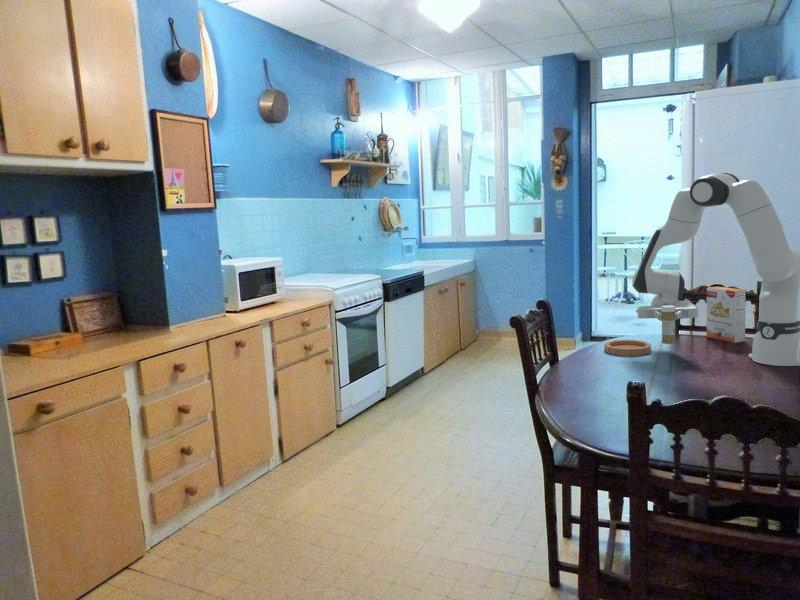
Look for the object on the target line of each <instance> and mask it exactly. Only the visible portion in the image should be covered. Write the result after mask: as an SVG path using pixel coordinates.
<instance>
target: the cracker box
mask: <svg viewBox="0 0 800 600" xmlns="http://www.w3.org/2000/svg"><path fill="white" fill-rule="evenodd" d="M746 292H747V291H746V289H740V288H731V287H724V286H711V287H706V338H708V339H709V338H710V339H713V340H718V341H722V342H727V343H731V344H740V343H744V342H746V312H747V311H746V308H747V306H746V305H747V304H746V297H747V296H746V295H747V294H746Z"/></svg>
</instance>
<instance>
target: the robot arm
mask: <svg viewBox="0 0 800 600" xmlns="http://www.w3.org/2000/svg"><path fill="white" fill-rule="evenodd" d="M724 204H725V205H727V206H729V207H730V208H731V210H732V211H733V213H734V215H735V218H736V219H737V221H738V224H739V226H740V228H741V230H742V233H743V235H744V237H745V239H746V241H747V245H748V248H749V252H750V254H751V257H752V260H753V262H754V265H755V269H756V272H757V274H758V275H759V277H760V278H762V279H761V287H760V292H759V296H758V301H759V303H758V304H759V305H758V320H757V322H756V330H757V332H756V333H755V334H754V335H753V338H752V348H751V349H752V350H751V352H750V353H748V358H749V359H752V361H753V362H756V363H758V364H762V365H768V366H774V367H775V366H776V367H777V366H778V367H800V320H799V319H798V309H799V307H798V306H799V304H798V302H799V292H800V253H799V252H798V250H797V249H795V248H793V247H791V246H790V245H789V242H788V240H787V238H786V235H785V234H786V233H785V231H784V227H783V223H782V222H781V220H780V218H779V216H778V214H777V212H776V209H775V208H774V206H773V203H772V202H771V200H770V198H769V196H768V194H767V193H766V191H765V189H764V188H763V187H762V186H761V184H760V182H758V181H757V180H755V179H744V180H741V181H740V179H739V178H738V177H737V176H736V175H734V174H733V173H728V172H722V173H710V174H707V175H704V176H701V177H699V178H697V179H696V180H695V181H694V182H693V183H692V184H691V186H690V188H689V187H688V188H687V187H686V188H683V189H681V190H679V191H678V192H677V193H676V195H675V196H674V199H673V202H672V205H671V206H670V210H669V213H668V217H667V220H666V222H665V224H663V226H662V227H661V228H657V229H656V230H655V231H654V233H653V235H652V237H651V238H650V241H649V243H648V245H647V247H646V250H645V252H644V254H643V256H642V260H641V262H640V263H639V266H638V268H637V269H636V271H635V273H634V274H633V276H632V281H631V282H632V283H631V284H632V287H633V289H634V290H635V291H636V292H637V293H639V294H650V295H654V297H653V298H652V300H651V304H650V305H648V306H647V305H645V306H638V307H637V309H636V310H635V312H636V314H637V318H638V319H644V320H645V319H656V320H658V321H660V322H662V311H661V307H662V306H675V321H676V320H681V319H692V318H693V319H697V318H698V317H699V309H698V308H699V307H698V306H697V305H695V304H694V303H692V302H691V301H690V300H686V299H684V300H683V296H684V294H685V288H686V286H685V285H686V284H685V282H686V281H685V279H684V277H683V276H682V274H681V273H680V272H676V271H675V272H674V271H667V270H661V269H655V268H652V266H653V264H654V262H655V259H656V257H657V255H658V253H659V251H660V250H661V249H663V248H664V247H667V246H671V245H676V244H682V243H685V242H687V241H689V240H691V239H693V238H694V237H695V236H696V235H697V234H698V231H699V228H700V225H701V223H702V222H701V221H702V218H703V214H704V211H705V210H706V208H707V207H716V206H723V205H724Z"/></svg>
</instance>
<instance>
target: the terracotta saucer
mask: <svg viewBox="0 0 800 600" xmlns="http://www.w3.org/2000/svg"><path fill="white" fill-rule="evenodd" d="M603 345H604V347H603V348H604V349H603V350H606V351H607V352H609V353H608V354H610V353H613V354H612V355H615V354H617V355H616V356H624V355H628V356H627V357H630V356H631V357H634V356H644V355H647V354H651V352H652V343H650V342H647V341H644V340H638V339H615V340H610V341H606V342H605V343H604V344H603ZM606 351H605V352H606ZM607 352H606V353H607Z"/></svg>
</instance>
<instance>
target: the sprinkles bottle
mask: <svg viewBox="0 0 800 600" xmlns="http://www.w3.org/2000/svg"><path fill="white" fill-rule="evenodd" d="M661 311H662V321H661V339H662V340H661V343H662V344H665V345H675V343H676V320H675V306H662V307H661Z"/></svg>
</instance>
